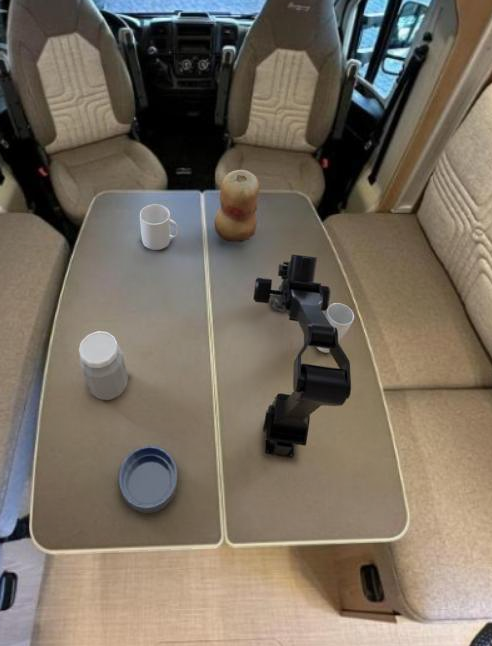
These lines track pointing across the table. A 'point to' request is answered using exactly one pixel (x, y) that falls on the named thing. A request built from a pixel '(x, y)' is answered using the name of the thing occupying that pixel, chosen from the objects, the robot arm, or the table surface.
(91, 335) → the jar
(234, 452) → the table surface
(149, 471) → the bowl
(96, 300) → the table surface
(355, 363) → the table surface
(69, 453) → the table surface
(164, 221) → the mug
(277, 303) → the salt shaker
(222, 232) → the butternut squash
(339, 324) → the drinking glass
